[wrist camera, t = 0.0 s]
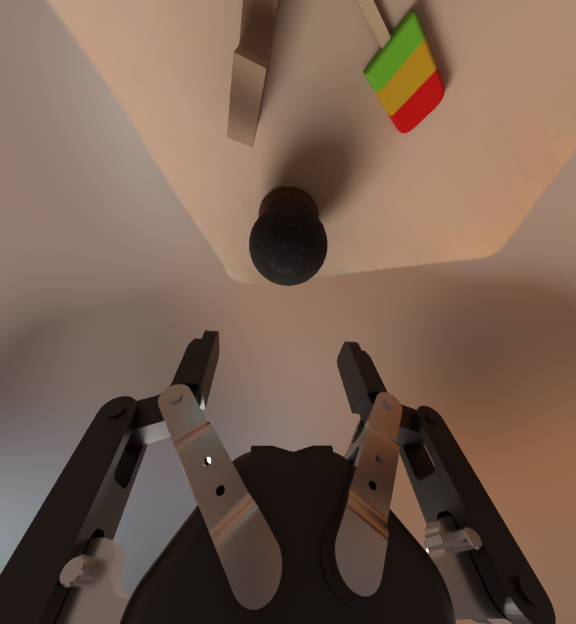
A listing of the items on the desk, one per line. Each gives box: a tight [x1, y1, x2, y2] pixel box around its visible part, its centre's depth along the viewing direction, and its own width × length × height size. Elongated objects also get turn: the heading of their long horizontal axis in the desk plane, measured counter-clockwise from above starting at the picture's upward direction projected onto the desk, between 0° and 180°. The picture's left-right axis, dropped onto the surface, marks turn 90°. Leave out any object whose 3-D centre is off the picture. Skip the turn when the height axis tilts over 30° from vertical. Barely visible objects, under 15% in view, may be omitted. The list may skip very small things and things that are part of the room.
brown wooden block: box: [227, 0, 279, 147], centre depth 19 cm, size 18×3×7 cm, turn 161°
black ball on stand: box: [249, 187, 327, 286], centre depth 36 cm, size 13×13×15 cm
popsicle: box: [357, 0, 444, 133], centre depth 23 cm, size 6×15×2 cm, turn 50°
